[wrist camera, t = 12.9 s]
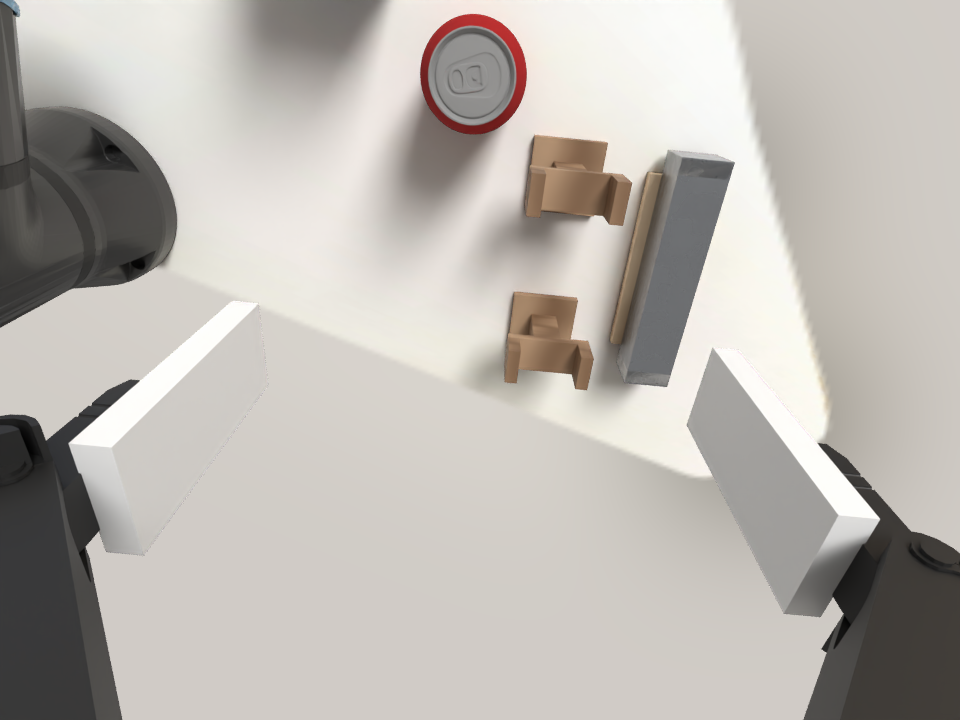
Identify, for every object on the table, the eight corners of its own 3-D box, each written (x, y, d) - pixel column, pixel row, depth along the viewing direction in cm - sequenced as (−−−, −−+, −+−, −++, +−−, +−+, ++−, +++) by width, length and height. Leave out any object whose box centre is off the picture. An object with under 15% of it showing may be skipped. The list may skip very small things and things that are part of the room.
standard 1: (502, 346, 55) (502, 397, 46) (509, 291, 52) (510, 334, 43) (571, 353, 55) (583, 404, 46) (581, 298, 52) (597, 342, 43)
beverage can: (525, 114, 44) (532, 130, 34) (444, 126, 45) (426, 144, 34) (517, 18, 41) (522, 1, 31) (430, 32, 42) (406, 21, 31)
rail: (616, 362, 54) (624, 382, 50) (667, 149, 44) (682, 157, 41) (656, 366, 54) (666, 386, 50) (716, 154, 44) (734, 162, 41)
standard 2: (519, 206, 48) (523, 236, 39) (528, 134, 45) (534, 149, 37) (598, 214, 48) (618, 246, 40) (612, 142, 45) (637, 160, 37)
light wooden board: (609, 338, 54) (611, 343, 53) (647, 171, 46) (650, 173, 45) (669, 344, 54) (671, 349, 53) (717, 178, 46) (721, 181, 45)
